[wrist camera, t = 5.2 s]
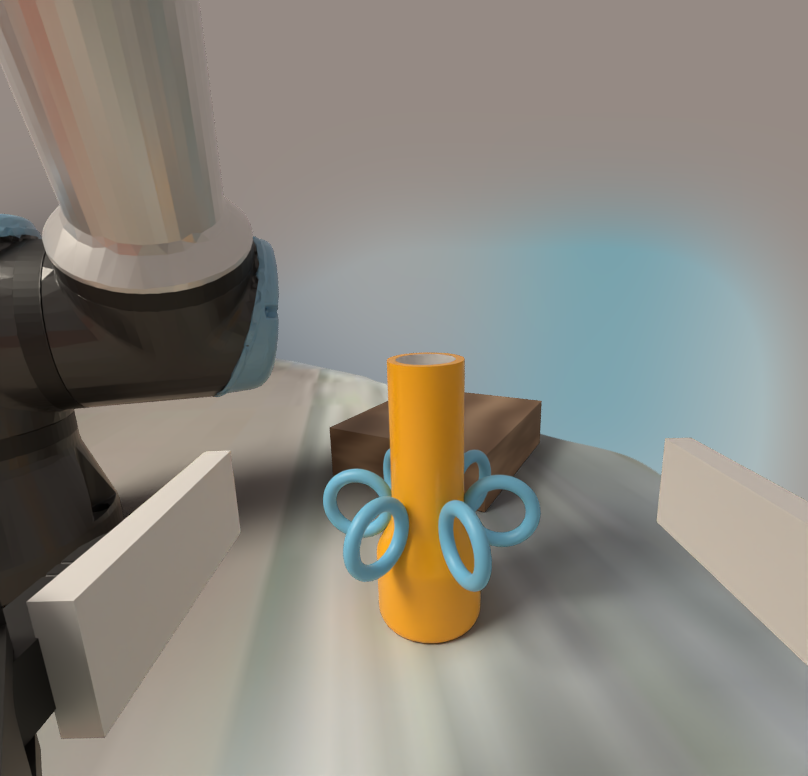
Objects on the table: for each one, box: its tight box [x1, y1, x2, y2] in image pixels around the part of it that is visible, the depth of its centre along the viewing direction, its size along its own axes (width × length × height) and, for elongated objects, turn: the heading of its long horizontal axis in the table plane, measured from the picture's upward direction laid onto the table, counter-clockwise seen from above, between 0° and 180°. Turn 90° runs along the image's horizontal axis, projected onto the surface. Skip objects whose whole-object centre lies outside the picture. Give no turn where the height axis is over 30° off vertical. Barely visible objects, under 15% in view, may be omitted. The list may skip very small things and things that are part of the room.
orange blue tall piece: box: [323, 353, 540, 643], centre depth 25 cm, size 12×10×15 cm
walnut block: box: [330, 392, 541, 512], centre depth 48 cm, size 16×18×5 cm
